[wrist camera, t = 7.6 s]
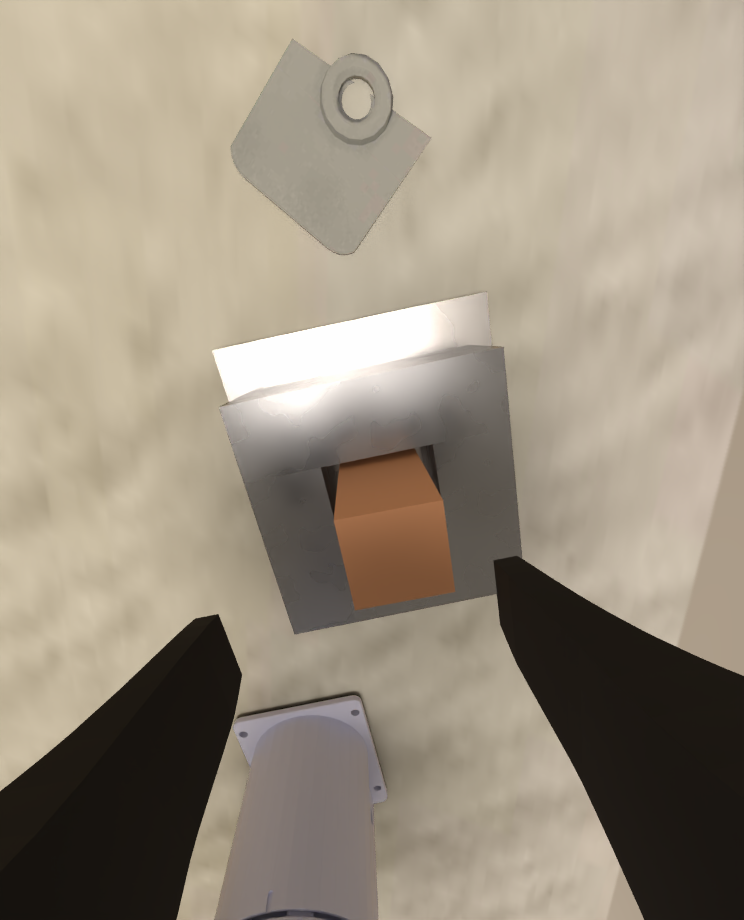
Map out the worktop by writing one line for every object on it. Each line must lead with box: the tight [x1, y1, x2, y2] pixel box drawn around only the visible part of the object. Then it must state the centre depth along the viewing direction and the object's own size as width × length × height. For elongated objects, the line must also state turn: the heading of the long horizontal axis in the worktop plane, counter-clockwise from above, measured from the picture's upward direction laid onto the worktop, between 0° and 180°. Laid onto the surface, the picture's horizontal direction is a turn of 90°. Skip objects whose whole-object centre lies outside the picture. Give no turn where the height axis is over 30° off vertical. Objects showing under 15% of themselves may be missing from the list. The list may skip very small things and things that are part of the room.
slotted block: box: [212, 292, 522, 634], centre depth 17 cm, size 14×12×5 cm
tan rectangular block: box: [334, 448, 455, 610], centre depth 14 cm, size 3×3×8 cm
